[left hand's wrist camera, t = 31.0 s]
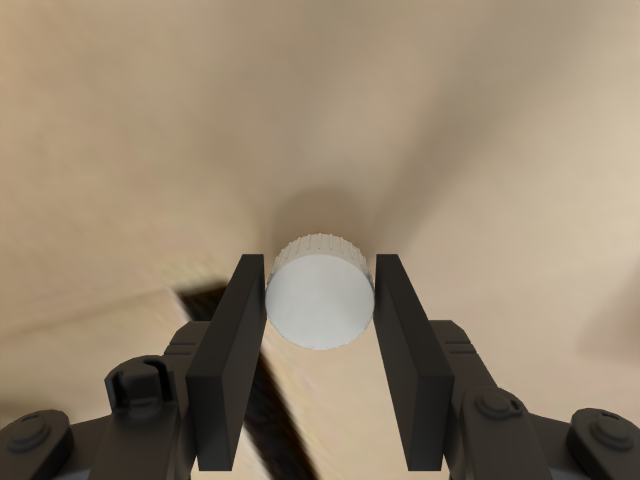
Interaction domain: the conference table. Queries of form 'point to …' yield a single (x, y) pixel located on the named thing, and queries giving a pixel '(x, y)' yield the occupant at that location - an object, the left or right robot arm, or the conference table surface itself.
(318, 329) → the cap
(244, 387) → the left robot arm
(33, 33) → the conference table surface
